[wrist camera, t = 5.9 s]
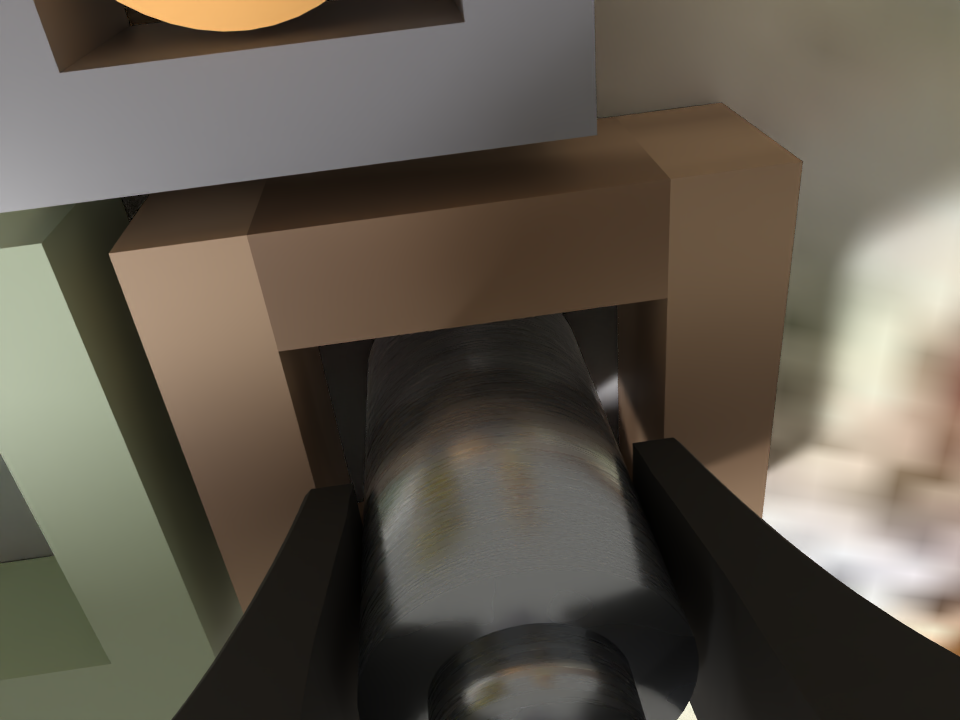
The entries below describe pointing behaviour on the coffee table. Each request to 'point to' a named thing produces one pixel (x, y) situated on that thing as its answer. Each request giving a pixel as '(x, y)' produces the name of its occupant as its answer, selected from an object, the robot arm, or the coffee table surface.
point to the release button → (223, 12)
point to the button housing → (278, 92)
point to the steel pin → (507, 540)
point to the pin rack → (96, 491)
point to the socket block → (466, 295)
